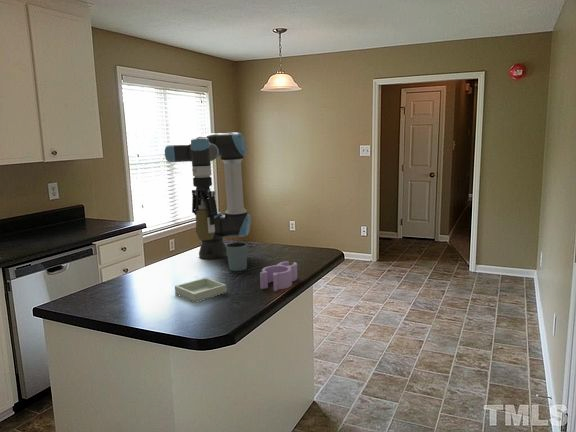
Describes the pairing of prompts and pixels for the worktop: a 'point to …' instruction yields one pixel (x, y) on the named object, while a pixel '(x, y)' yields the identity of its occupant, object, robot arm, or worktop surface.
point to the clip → (278, 275)
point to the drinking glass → (237, 255)
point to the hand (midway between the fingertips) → (205, 231)
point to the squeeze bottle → (203, 223)
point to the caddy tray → (200, 289)
